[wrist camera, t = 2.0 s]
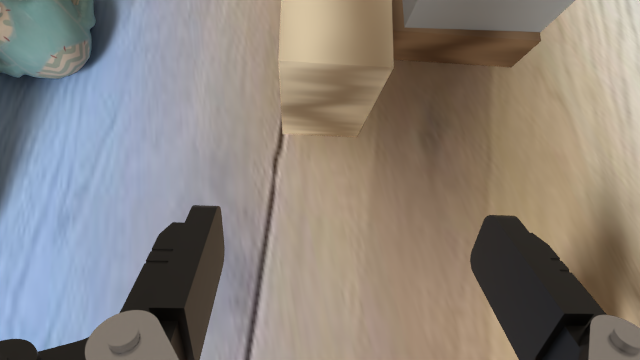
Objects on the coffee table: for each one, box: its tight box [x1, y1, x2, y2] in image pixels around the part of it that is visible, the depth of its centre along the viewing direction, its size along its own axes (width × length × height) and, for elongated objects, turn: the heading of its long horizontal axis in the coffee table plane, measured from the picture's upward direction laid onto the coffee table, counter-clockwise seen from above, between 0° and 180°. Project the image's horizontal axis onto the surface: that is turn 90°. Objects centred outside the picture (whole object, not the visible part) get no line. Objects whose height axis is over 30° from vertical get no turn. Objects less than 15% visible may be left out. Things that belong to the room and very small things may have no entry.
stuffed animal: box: [0, 0, 96, 79], centre depth 24 cm, size 11×7×12 cm
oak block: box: [278, 0, 394, 137], centre depth 23 cm, size 6×6×10 cm
